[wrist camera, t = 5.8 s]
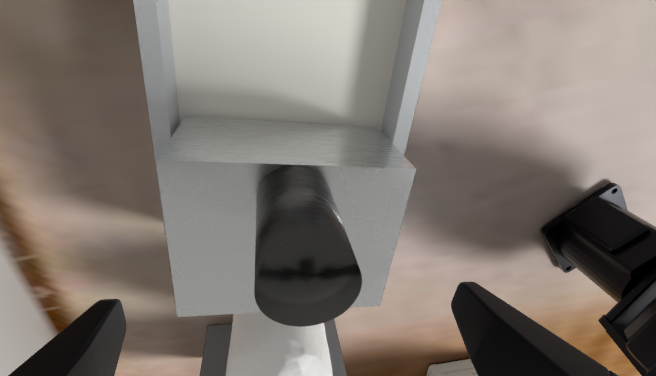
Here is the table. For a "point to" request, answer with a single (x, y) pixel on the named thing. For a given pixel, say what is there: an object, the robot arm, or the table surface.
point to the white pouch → (276, 348)
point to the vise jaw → (280, 216)
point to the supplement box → (453, 369)
